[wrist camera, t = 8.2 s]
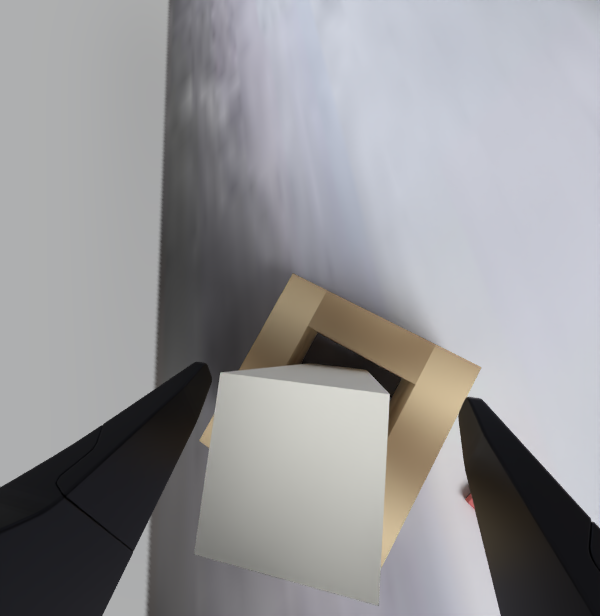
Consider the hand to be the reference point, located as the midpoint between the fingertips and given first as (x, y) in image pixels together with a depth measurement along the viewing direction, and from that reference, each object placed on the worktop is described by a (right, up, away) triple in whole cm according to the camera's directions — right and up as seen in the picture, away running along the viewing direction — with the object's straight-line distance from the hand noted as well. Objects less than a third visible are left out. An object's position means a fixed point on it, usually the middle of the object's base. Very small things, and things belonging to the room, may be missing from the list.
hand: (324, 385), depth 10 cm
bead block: (+1, -3, +8) cm, 8 cm away
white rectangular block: (+1, -3, +8) cm, 8 cm away
